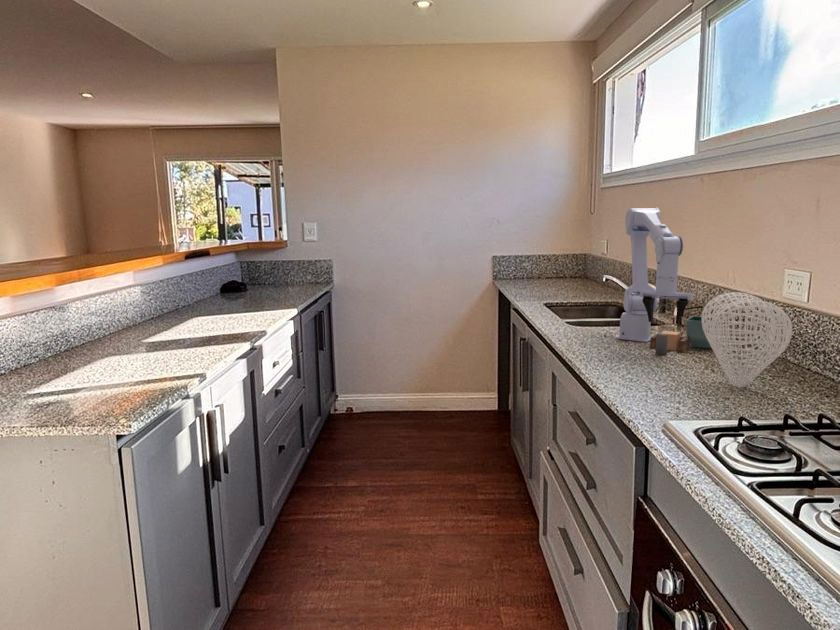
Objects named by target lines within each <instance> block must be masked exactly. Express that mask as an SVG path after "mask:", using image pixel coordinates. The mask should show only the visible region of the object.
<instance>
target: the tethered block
mask: <svg viewBox="0 0 840 630" xmlns="http://www.w3.org/2000/svg"><path fill="white" fill-rule="evenodd" d="M656 334H657V336H656V348H655V355H657V356H667V355H668V351H673V352H674V351H677V350H679V349H680V336H682V332H680V331H671V330H670V331H669V330H662V331H661V332H660V333H656ZM678 348H679V349H678Z"/></svg>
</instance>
